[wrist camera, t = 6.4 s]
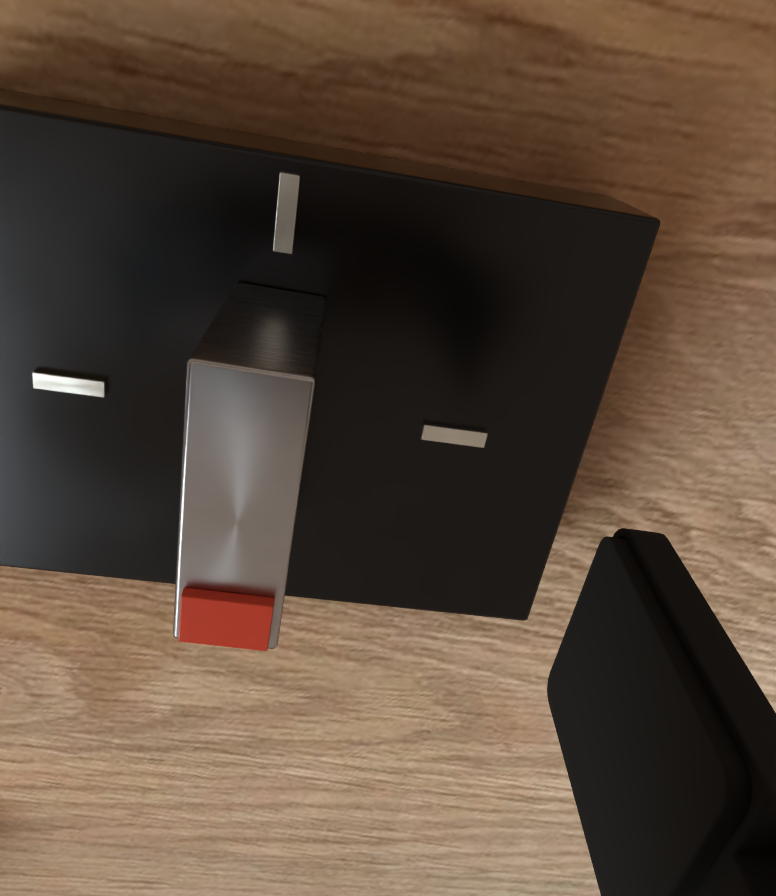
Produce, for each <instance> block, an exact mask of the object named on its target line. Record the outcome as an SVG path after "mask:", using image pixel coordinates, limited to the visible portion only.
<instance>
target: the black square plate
mask: <svg viewBox="0 0 776 896" xmlns="http://www.w3.org/2000/svg"><path fill="white" fill-rule="evenodd" d="M659 226H660V220H659V219H657V218H656V217H654V216H651V215H649V214H647V213H645V212H643V211H641V210H639V209H636V208H634V207H632V206H630V205H628V204H626V203H623V202H621V201H619V200H617V199H615V198H613V197H611V196H606V195H600V194H595V193H589V192H584V191H578V190H572V189H567V188H561V187H555V186H550V185H544V184H538V183H533V182H527V181H521V180H516V179H510V178H504V177H499V176H493V175H487V174H482V173H476V172H470V171H465V170H459V169H453V168H448V167H442V166H436V165H431V164H425V163H419V162H414V161H408V160H402V159H397V158H391V157H385V156H380V155H374V154H368V153H363V152H357V151H351V150H346V149H340V148H334V147H329V146H323V145H317V144H312V143H306V142H300V141H295V140H289V139H283V138H278V137H272V136H266V135H261V134H255V133H249V132H244V131H238V130H232V129H227V128H221V127H215V126H210V125H204V124H198V123H193V122H187V121H181V120H176V119H170V118H164V117H159V116H153V115H147V114H142V113H136V112H130V111H125V110H119V109H113V108H108V107H102V106H96V105H91V104H85V103H79V102H74V101H68V100H62V99H57V98H51V97H45V96H40V95H34V94H28V93H23V92H17V91H11V90H6V89H0V566H9V567H19V568H28V569H38V570H47V571H57V572H66V573H76V574H85V575H95V576H104V577H114V578H123V579H133V580H142V581H152V582H161V583H171V584H176V567H177V548H178V529H179V510H180V491H181V471H182V452H183V433H184V414H185V395H186V376H187V361H188V359H189V358H190V356H191V354H192V353H193V351H194V350H195V348H196V346H197V345H198V343H199V341H200V340H201V338H202V336H203V335H204V333H205V331H206V330H207V328H208V327H209V325H210V323H211V322H212V320H213V318H214V317H215V315H216V313H217V312H218V310H219V308H220V307H221V305H222V304H223V302H224V300H225V299H226V297H227V295H228V294H229V292H230V290H231V289H232V287H233V286H234V284H235V283H244V284H250V285H256V286H262V287H268V288H274V289H280V290H286V291H292V292H298V293H304V294H310V295H316V296H322V297H325V298H326V299H327V306H326V313H325V320H324V327H323V334H322V341H321V348H320V355H319V362H318V369H317V376H316V383H315V390H314V396H313V403H312V410H311V417H310V424H309V431H308V438H307V445H306V452H305V459H304V466H303V472H302V479H301V486H300V493H299V500H298V507H297V514H296V521H295V528H294V535H293V541H292V548H291V555H290V562H289V569H288V576H287V583H286V590H285V596H295V597H304V598H314V599H323V600H333V601H342V602H352V603H361V604H371V605H380V606H390V607H399V608H409V609H418V610H428V611H438V612H447V613H457V614H466V615H476V616H485V617H495V618H504V619H514V620H523V621H525V620H527V619H528V616H529V613H530V610H531V607H532V604H533V601H534V598H535V595H536V592H537V589H538V586H539V583H540V580H541V577H542V574H543V571H544V568H545V565H546V562H547V559H548V556H549V553H550V550H551V547H552V544H553V541H554V539H555V536H556V533H557V530H558V527H559V524H560V521H561V518H562V515H563V512H564V509H565V506H566V503H567V500H568V497H569V494H570V491H571V488H572V485H573V482H574V479H575V476H576V473H577V470H578V467H579V464H580V461H581V458H582V455H583V452H584V449H585V446H586V443H587V440H588V437H589V434H590V431H591V428H592V425H593V422H594V419H595V417H596V414H597V411H598V408H599V405H600V402H601V399H602V396H603V393H604V390H605V387H606V384H607V381H608V378H609V375H610V372H611V369H612V366H613V363H614V360H615V357H616V354H617V351H618V348H619V345H620V342H621V339H622V336H623V333H624V330H625V327H626V324H627V321H628V318H629V315H630V312H631V309H632V306H633V303H634V300H635V297H636V295H637V292H638V289H639V286H640V283H641V280H642V277H643V274H644V271H645V268H646V265H647V262H648V259H649V256H650V253H651V250H652V247H653V244H654V241H655V238H656V235H657V232H658V229H659Z"/></svg>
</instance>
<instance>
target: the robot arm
mask: <svg viewBox="0 0 776 896" xmlns="http://www.w3.org/2000/svg"><path fill="white" fill-rule="evenodd" d="M547 693H548V701H549V705H550V709H551V713H552V717H553V720H554V724H555V728H556V731H557V735H558V739H559V742H560V746H561V750H562V753H563V757H564V761H565V764H566V768H567V772H568V776H569V779H570V783H571V787H572V790H573V794H574V798H575V801H576V805H577V809H578V812H579V816H580V820H581V823H582V827H583V831H584V835H585V838H586V842H587V846H588V849H589V853H590V857H591V860H592V864H593V868H594V871H595V875H596V879H597V882H598V886H599V890H600V894H601V896H776V713H775V711H774V710H773V708H772V706H771V705H770V703H769V701H768V700H767V698H766V697H765V695H764V693H763V692H762V690H761V689H760V687H759V685H758V684H757V682H756V680H755V679H754V677H753V676H752V674H751V672H750V671H749V669H748V668H747V666H746V664H745V663H744V661H743V660H742V658H741V656H740V655H739V653H738V651H737V650H736V648H735V647H734V645H733V643H732V642H731V640H730V639H729V637H728V635H727V634H726V632H725V630H724V629H723V627H722V626H721V624H720V622H719V621H718V619H717V618H716V616H715V614H714V613H713V611H712V610H711V608H710V606H709V605H708V603H707V601H706V600H705V598H704V597H703V595H702V593H701V592H700V590H699V589H698V587H697V585H696V584H695V582H694V580H693V579H692V577H691V576H690V574H689V572H688V571H687V569H686V568H685V566H684V564H683V563H682V561H681V559H680V558H679V556H678V555H677V553H676V551H675V550H674V548H673V547H672V545H671V543H670V542H669V540H668V539H667V538H666V536H665V535H664V534H661V533H655V532H648V531H640V530H633V529H625V528H622V529H619V530H618V531H617V532H616V533H615V534H614V536H613V537H604V538H603V539H602V540H601V542H600V544H599V546H598V549H597V551H596V554H595V557H594V559H593V562H592V564H591V567H590V570H589V572H588V575H587V578H586V580H585V583H584V585H583V588H582V591H581V593H580V596H579V598H578V601H577V604H576V606H575V609H574V611H573V614H572V617H571V619H570V622H569V625H568V627H567V630H566V632H565V635H564V638H563V640H562V643H561V645H560V648H559V651H558V653H557V656H556V658H555V661H554V664H553V666H552V669H551V671H550V675H549V678H548V686H547Z"/></svg>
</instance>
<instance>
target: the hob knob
mask: <svg viewBox="0 0 776 896" xmlns="http://www.w3.org/2000/svg"><path fill="white" fill-rule="evenodd" d="M326 306H327V299H326V298H325V297H322V296H316V295H310V294H304V293H298V292H292V291H286V290H280V289H274V288H268V287H262V286H256V285H250V284H244V283H235V284H234V286H233V287H232V289H231V290H230V292H229V294H228V295H227V297H226V299H225V300H224V302H223V304H222V305H221V307H220V308H219V310H218V312H217V313H216V315H215V317H214V318H213V320H212V322H211V323H210V325H209V327H208V328H207V330H206V331H205V333H204V335H203V336H202V338H201V340H200V341H199V343H198V345H197V346H196V348H195V350H194V351H193V353H192V354H191V356H190V358H189V359H188V361H187V376H186V395H185V414H184V433H183V452H182V471H181V491H180V510H179V529H178V548H177V567H176V586H175V605H174V624H173V635H174V637H175V638H178V640H179V641H180V642H188V643H197V644H207V645H216V646H225V647H234V648H244V649H253V650H262V651H267V650H268V648H270V649H273V648H275V647H276V646H277V645H278V638H279V631H280V624H281V617H282V611H283V604H284V597H285V590H286V583H287V576H288V569H289V562H290V555H291V548H292V541H293V535H294V528H295V521H296V514H297V507H298V500H299V493H300V486H301V479H302V472H303V466H304V459H305V452H306V445H307V438H308V431H309V424H310V417H311V410H312V403H313V396H314V390H315V383H316V376H317V369H318V362H319V355H320V348H321V341H322V334H323V327H324V320H325V313H326Z"/></svg>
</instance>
